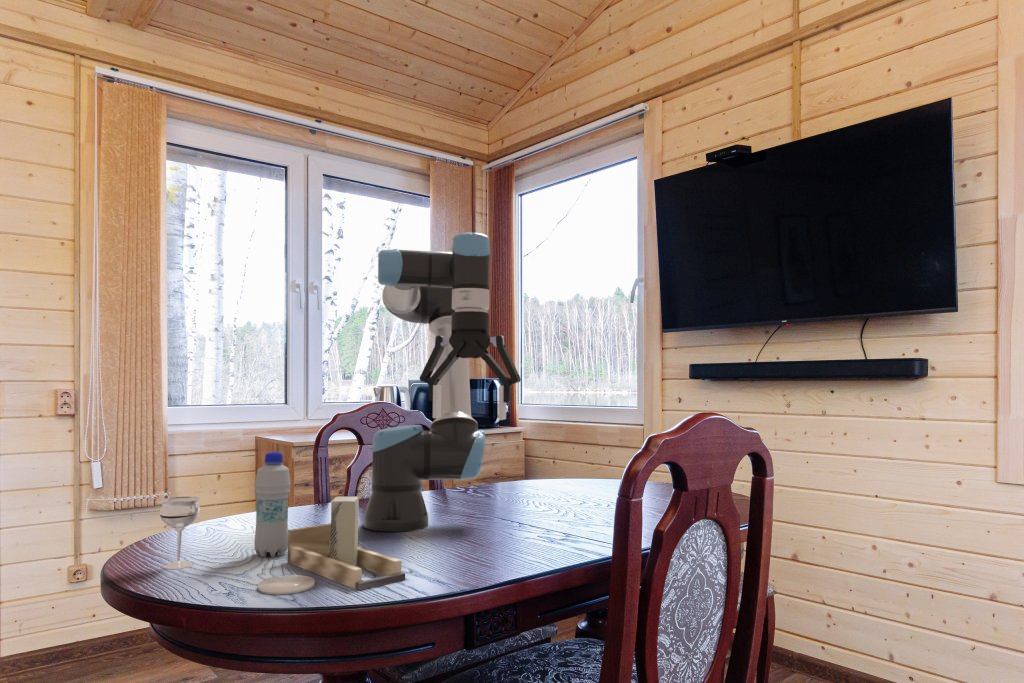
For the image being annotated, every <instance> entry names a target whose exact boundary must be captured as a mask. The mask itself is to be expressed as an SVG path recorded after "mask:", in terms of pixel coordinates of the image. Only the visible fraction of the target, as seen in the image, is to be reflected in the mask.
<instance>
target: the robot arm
mask: <svg viewBox="0 0 1024 683" xmlns="http://www.w3.org/2000/svg"><path fill="white" fill-rule="evenodd" d="M490 243H491V242H490V238H489V236H488V235H486V234H485V233H480V232H479V233H478V232H462V233H457V234H455V235H454V236H453V238H452V246H451V251H439V250H438V251H433V250H432V251H430V250H411V249H410V250H408V249H398V248H394V249H382V250H380V251H379V252H378V257H377V258H378V259H377V260H378V261H377V280H378V283H379V285H382V286H384V287H383V289H382V297H381V298H382V303H383V305H384V307H385V309H386V310H387V311H388V312H389V313H390V314H392V315H393V316H395V317H396V318H399V319H400V320H403V321H406V322H409V323H413V324H414V323H415V324H428V330H429V331H430V333H432V335H434V347H433V349H432V351H431V353H430V355H429V357H428V359H427V362H426V363H425V365H424V367H423V370H422V372H421V374H420V377H419V381H420V382H423V383H426V384H427V386H428V400H429V402H432V418H433V419H434V420H433V421H432V422H431V424H430V430H424V428H423V426H422V425H421V424H411V425H401V426H393V427H389V428H383V429H379V430H378V431H376V432H375V433H374V435H373V438H372V449H371V453H372V466H371V470H372V472H371V493H370V494H371V495H370V497H369V499H368V503H367V506H366V509H365V514H364V515H363V528H365V529H366V530H371V531H377V532H408V531H416V530H419V529H423V528H426V527H427V526H428V525H429V513H428V511H427V510H428V509H427V506H426V503H425V500H424V496H423V493H422V481H426V480H427V481H428V480H429V481H431V480H432V481H434V480H436V481H437V480H439V481H440V480H443V481H444V480H459V481H463V480H467V479H469V480H471V479H475V478H478V477H479V475H480V473H481V470H482V466H483V462H484V455H485V454H484V453H485V445H486V434H485V431H484V430H482V429H479V424H478V422H477V420H476V419H474V418H473V416H472V409H471V408H472V406H471V405H472V404H471V385H470V364H469V363H470V360H469V358H470V359H480V358H481V360H483V362H484V363H485V364H486V365H487V366H488V367H489V368H490V370H491V371H492V372H493V373H494V374H495V376H496V377H497V378H498V380H499V381H500V383H501V384H502V385H498V386H499V387H498V420H499V421H503V420H506V419H507V403H511V401H512V386H513V385H515V384H517V383H521V381H522V379H521V376H520V374H519V372H518V370H517V368H516V365H515V363H514V362H513V359H512V357H511V355H510V353H509V351H508V349H507V347H506V346H507V345H506V338H505V336H504V335H499V334H498V335H496V336H490V314H489V312H487V311H488V310H490V267H491V264H490V263H491V262H490V261H491V253H492V251H491V246H490ZM491 344H492V345H493V347H495V348H497V352H498V354H499V357H500V359H501V360H502V363H503V364H504V366H505V369H506V371H507V372H508V374H507V373H506V372H505V371H504V369H503V368H501V366H500V365H499V363H498V362H497V361H496V359H494V357H493V356H492V354H491V353H490V352H489V350H488V349H489V347H490V345H491ZM434 371H435V372H434ZM433 372H434V373H433ZM508 375H509V376H508Z"/></svg>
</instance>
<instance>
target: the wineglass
mask: <svg viewBox="0 0 1024 683" xmlns="http://www.w3.org/2000/svg"><path fill="white" fill-rule="evenodd" d="M200 500H201V497H198V496H173V497H172V496H171V497H167V498H163V499H161V500H160V503H161V505H162V506H161V508H160V510H159V516H160V519H161V521H163V523H165V525H167V526H169V527H170V528H174V530H175V532H176V533H177V534H176V537H177V538H176V540H177V545H176V546H177V549H176V550H177V555H176V556H177V560H176V561H175V560H174V561H173V562H169V563H166V564H165V565H164V566H163V568H164V569H167V570H179V569H184V568H185V569H187V568H189V567H191V566H193V565H194V563H193V562H189V561H184V560H181V549H182V547H181V546H182V535H183V531H184V530H185V528H186V527H188V526H190V525H192V524H193V523H194V522H195V521H196V520H197V519H198V518H199V515H200V512H201V506H200V504H199V501H200Z"/></svg>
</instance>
